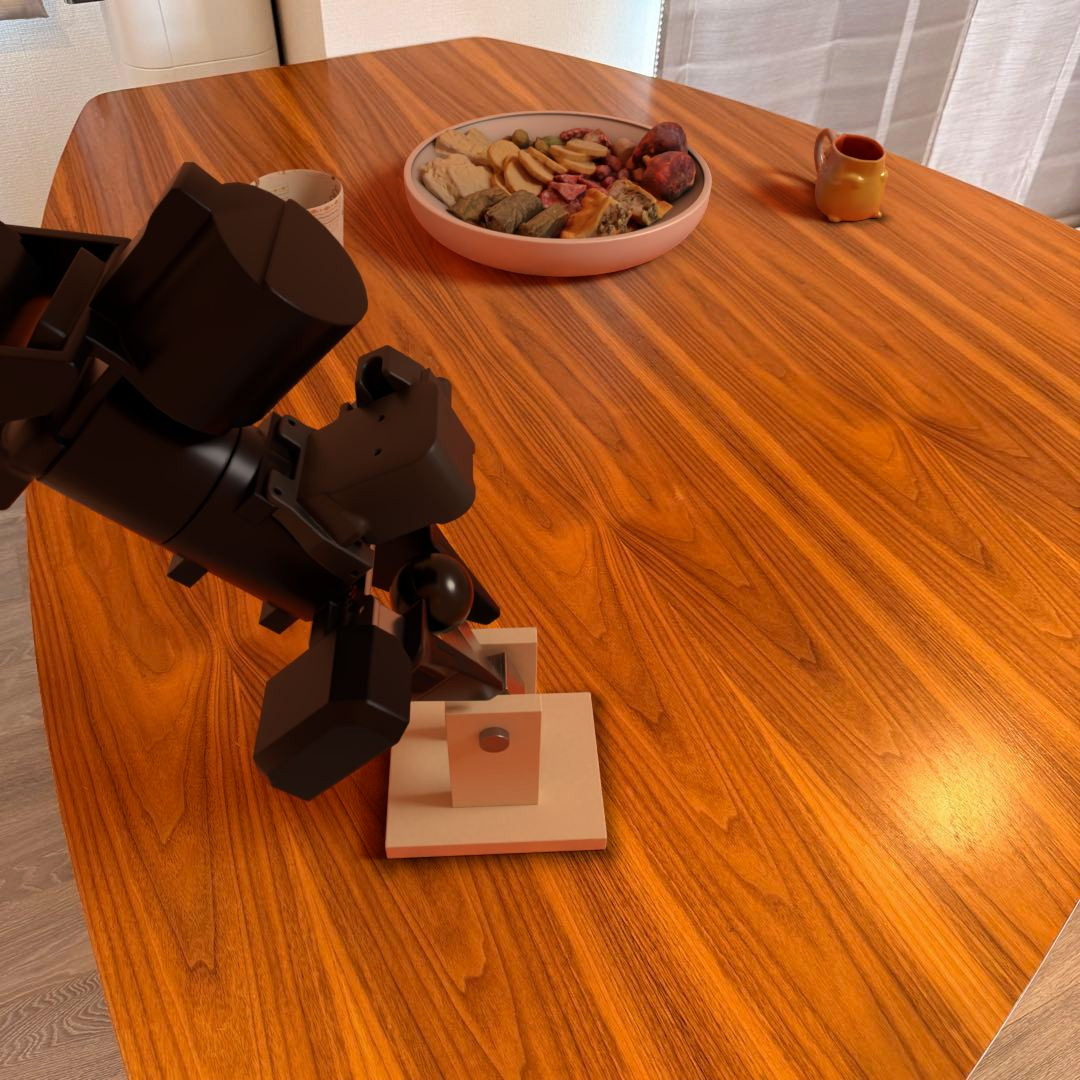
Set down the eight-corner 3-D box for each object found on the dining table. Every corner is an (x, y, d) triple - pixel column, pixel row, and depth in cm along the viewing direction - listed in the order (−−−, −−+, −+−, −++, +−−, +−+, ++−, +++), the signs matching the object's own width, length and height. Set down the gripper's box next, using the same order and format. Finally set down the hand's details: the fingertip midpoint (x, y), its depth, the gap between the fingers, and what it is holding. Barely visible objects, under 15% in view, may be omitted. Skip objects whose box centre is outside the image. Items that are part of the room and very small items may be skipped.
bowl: (472, 320, 84) (469, 236, 79) (369, 180, 104) (361, 104, 98) (763, 256, 93) (778, 176, 88) (619, 139, 113) (624, 67, 107)
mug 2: (889, 222, 99) (908, 158, 94) (826, 227, 98) (841, 162, 93) (843, 172, 107) (858, 111, 103) (784, 176, 106) (797, 114, 102)
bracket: (386, 859, 49) (367, 755, 42) (395, 710, 55) (380, 600, 48) (605, 849, 49) (619, 745, 43) (589, 704, 56) (599, 594, 49)
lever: (372, 610, 40) (454, 588, 39) (377, 548, 42) (455, 526, 41) (469, 747, 47) (539, 730, 46) (468, 686, 49) (535, 669, 49)
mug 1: (361, 309, 85) (348, 206, 78) (220, 327, 83) (194, 221, 76) (349, 265, 91) (336, 165, 84) (216, 281, 88) (192, 178, 82)
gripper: (295, 540, 26) (659, 753, 34) (352, 218, 39) (605, 428, 48) (87, 721, 31) (448, 869, 40) (199, 382, 45) (452, 546, 53)
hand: (495, 654), depth 45 cm, fingers open, 4 cm apart
